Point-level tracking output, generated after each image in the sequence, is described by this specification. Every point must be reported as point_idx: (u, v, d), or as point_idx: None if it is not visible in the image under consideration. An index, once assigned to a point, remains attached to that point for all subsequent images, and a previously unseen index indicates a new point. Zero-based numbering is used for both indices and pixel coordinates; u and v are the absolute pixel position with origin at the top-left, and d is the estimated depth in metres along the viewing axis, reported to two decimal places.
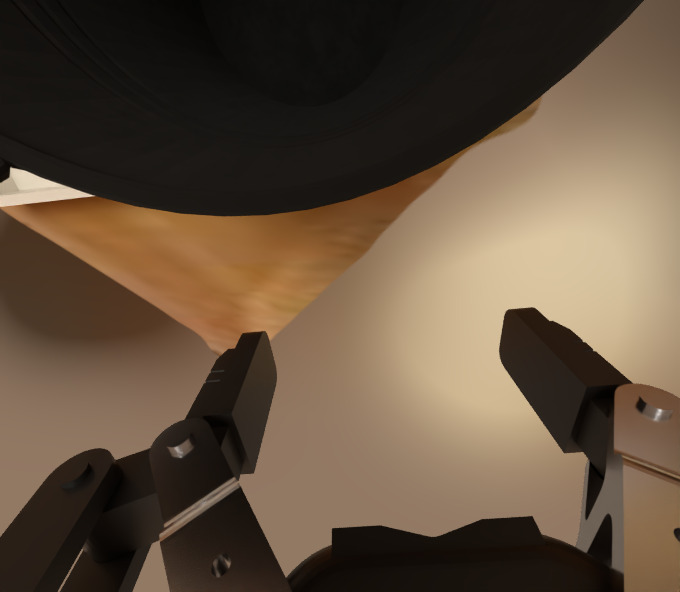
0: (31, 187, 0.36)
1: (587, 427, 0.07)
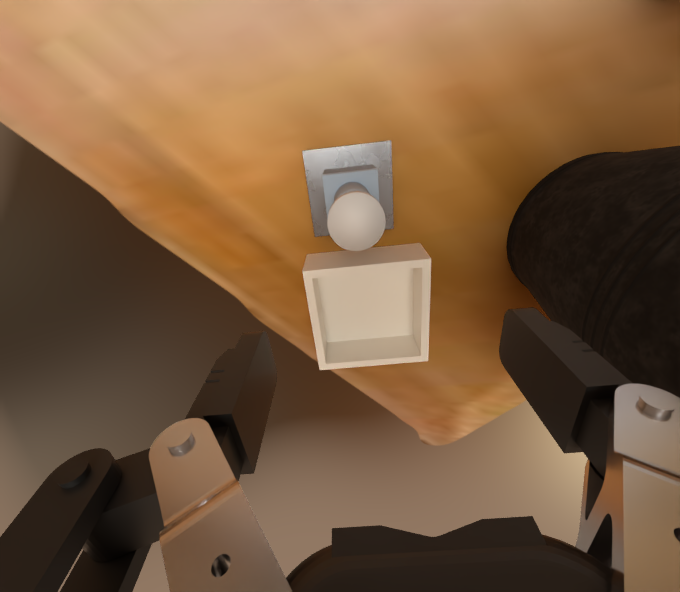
0: (337, 340, 0.48)
1: (587, 427, 0.07)
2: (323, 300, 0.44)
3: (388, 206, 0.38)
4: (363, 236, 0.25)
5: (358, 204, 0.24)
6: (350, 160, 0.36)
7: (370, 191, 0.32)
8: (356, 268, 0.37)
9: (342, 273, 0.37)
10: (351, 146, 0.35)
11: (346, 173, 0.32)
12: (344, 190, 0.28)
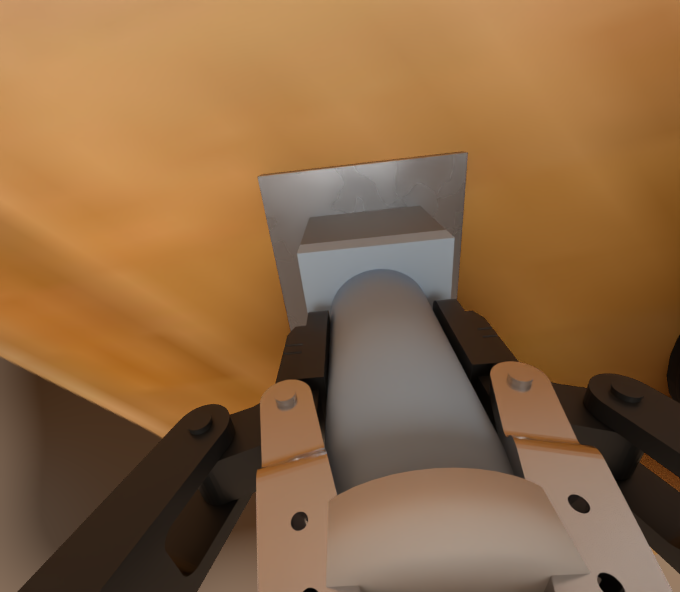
0: None
1: None
2: None
3: None
4: None
5: (477, 589, 0.04)
6: (368, 198, 0.16)
7: (428, 291, 0.12)
8: None
9: None
10: (372, 166, 0.15)
11: (365, 248, 0.11)
12: (365, 336, 0.08)
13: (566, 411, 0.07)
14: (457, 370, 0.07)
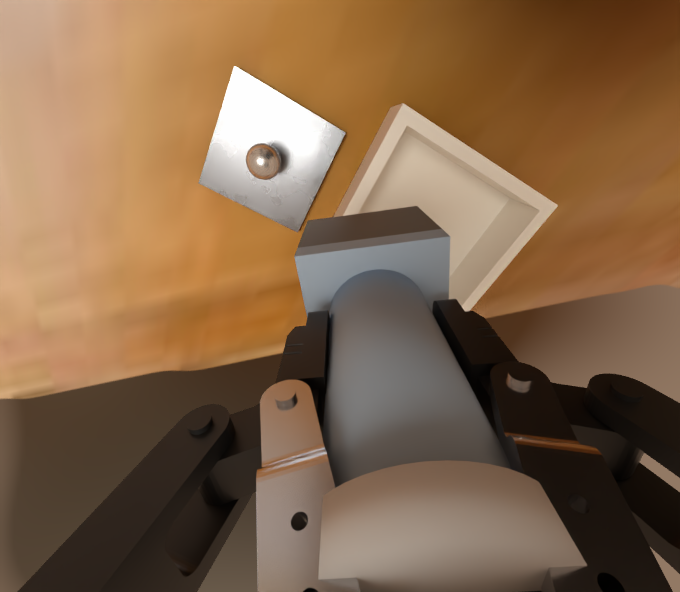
0: None
1: None
2: None
3: (313, 120, 0.27)
4: None
5: (467, 579, 0.04)
6: (234, 135, 0.27)
7: (426, 291, 0.12)
8: None
9: None
10: (218, 123, 0.27)
11: (362, 249, 0.11)
12: (361, 336, 0.08)
13: (566, 411, 0.07)
14: (452, 367, 0.07)
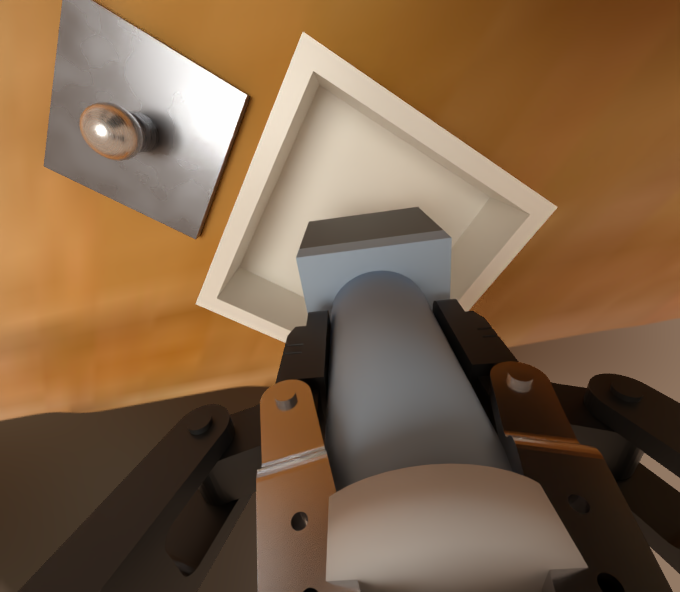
0: None
1: None
2: None
3: (197, 75, 0.18)
4: None
5: (472, 583, 0.04)
6: (82, 96, 0.19)
7: (428, 292, 0.12)
8: (236, 215, 0.17)
9: (234, 246, 0.18)
10: (56, 76, 0.18)
11: (363, 250, 0.11)
12: (363, 337, 0.08)
13: (566, 411, 0.07)
14: (455, 369, 0.07)
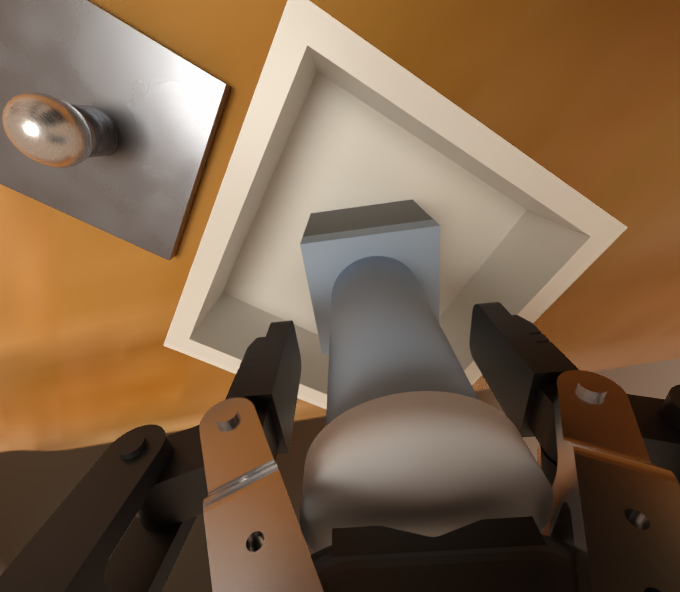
0: None
1: (537, 411, 0.08)
2: (308, 325, 0.21)
3: (162, 59, 0.14)
4: None
5: (439, 473, 0.05)
6: (19, 86, 0.15)
7: (419, 275, 0.13)
8: (209, 239, 0.13)
9: (208, 276, 0.14)
10: None
11: (361, 237, 0.13)
12: (360, 310, 0.09)
13: (644, 424, 0.06)
14: (438, 334, 0.09)
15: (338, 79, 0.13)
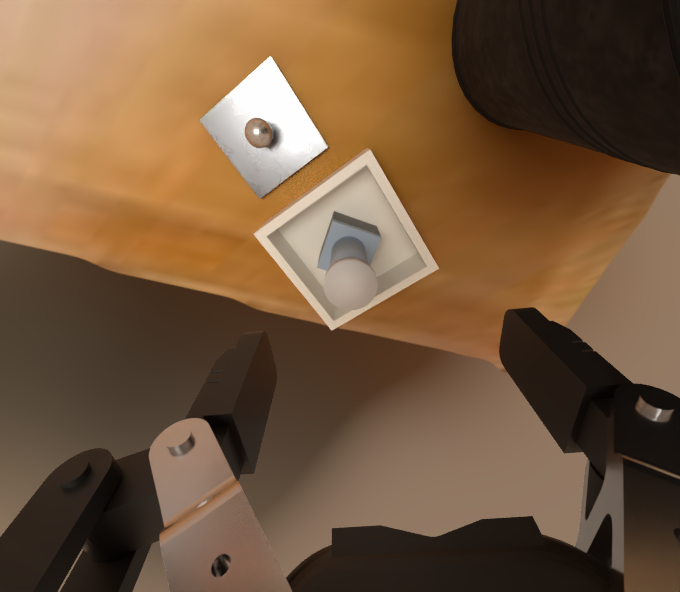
0: None
1: (587, 427, 0.07)
2: (305, 260, 0.41)
3: (309, 126, 0.34)
4: (351, 299, 0.27)
5: (359, 272, 0.26)
6: (245, 102, 0.33)
7: (367, 252, 0.35)
8: (301, 203, 0.33)
9: (291, 215, 0.34)
10: (238, 86, 0.33)
11: (354, 229, 0.34)
12: (348, 247, 0.31)
13: None
14: (367, 261, 0.30)
15: (370, 171, 0.34)
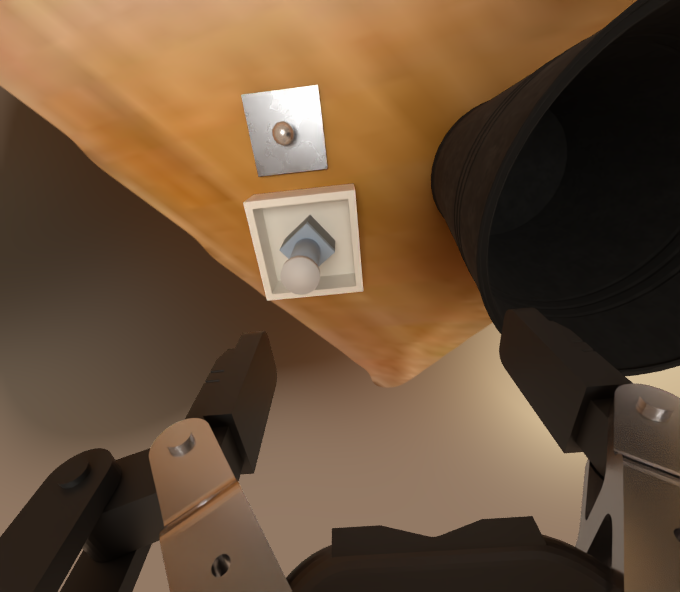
0: None
1: (587, 427, 0.07)
2: (271, 238, 0.50)
3: (321, 147, 0.44)
4: (296, 285, 0.37)
5: (310, 270, 0.37)
6: (283, 104, 0.41)
7: (320, 257, 0.45)
8: (290, 199, 0.42)
9: (278, 204, 0.42)
10: (283, 90, 0.41)
11: (319, 236, 0.44)
12: (310, 249, 0.41)
13: None
14: (318, 264, 0.40)
15: (348, 202, 0.45)
